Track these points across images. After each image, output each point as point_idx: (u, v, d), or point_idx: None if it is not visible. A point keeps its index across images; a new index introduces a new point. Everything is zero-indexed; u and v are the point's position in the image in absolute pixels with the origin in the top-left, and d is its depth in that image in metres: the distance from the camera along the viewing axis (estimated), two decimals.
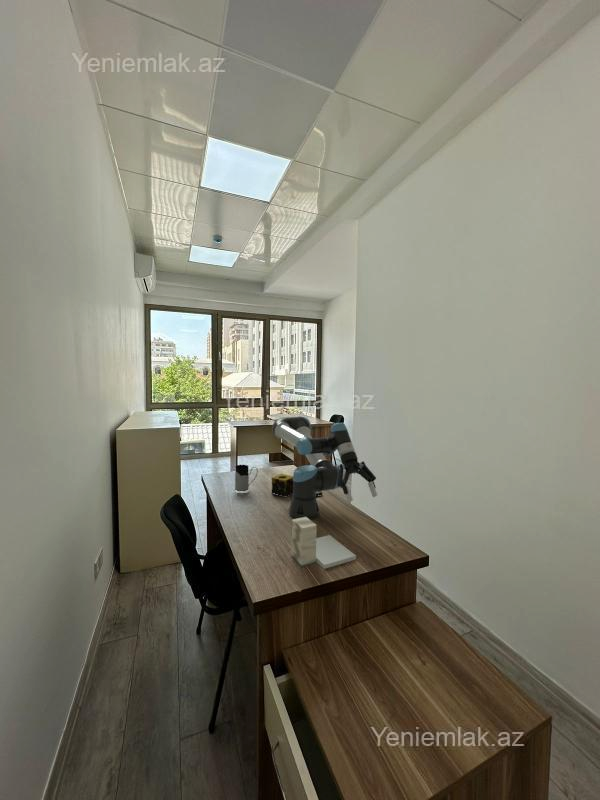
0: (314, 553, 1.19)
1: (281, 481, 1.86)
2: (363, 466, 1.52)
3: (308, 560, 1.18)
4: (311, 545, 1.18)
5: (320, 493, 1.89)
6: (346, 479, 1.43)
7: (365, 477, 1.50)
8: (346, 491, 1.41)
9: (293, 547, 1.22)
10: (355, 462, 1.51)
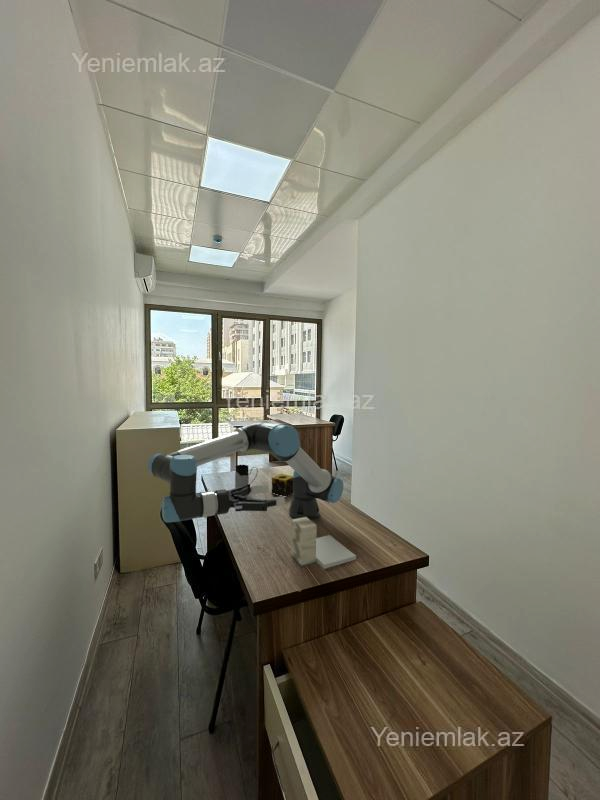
0: (314, 553, 1.19)
1: (281, 481, 1.86)
2: None
3: (308, 560, 1.18)
4: (312, 545, 1.18)
5: None
6: None
7: None
8: None
9: (293, 547, 1.22)
10: None
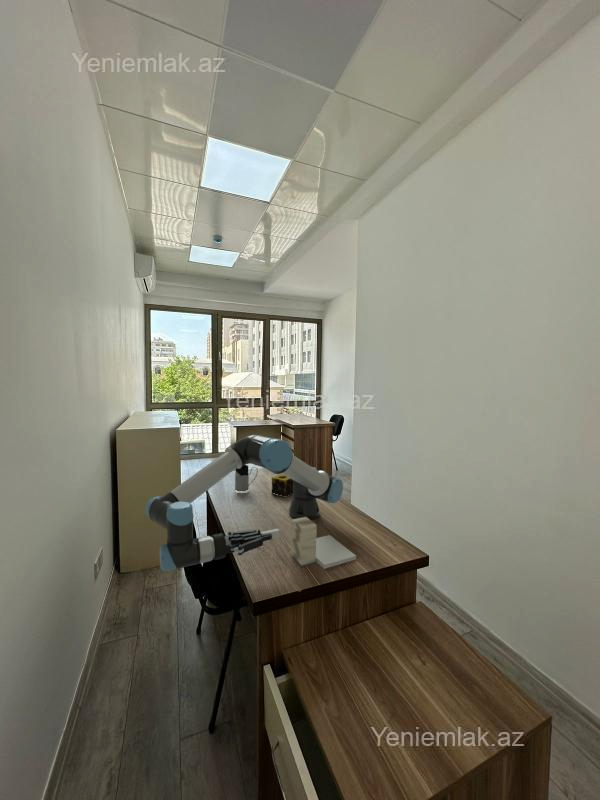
0: (314, 553, 1.19)
1: (281, 481, 1.86)
2: None
3: (308, 560, 1.18)
4: (312, 545, 1.18)
5: None
6: None
7: None
8: None
9: (293, 547, 1.22)
10: None
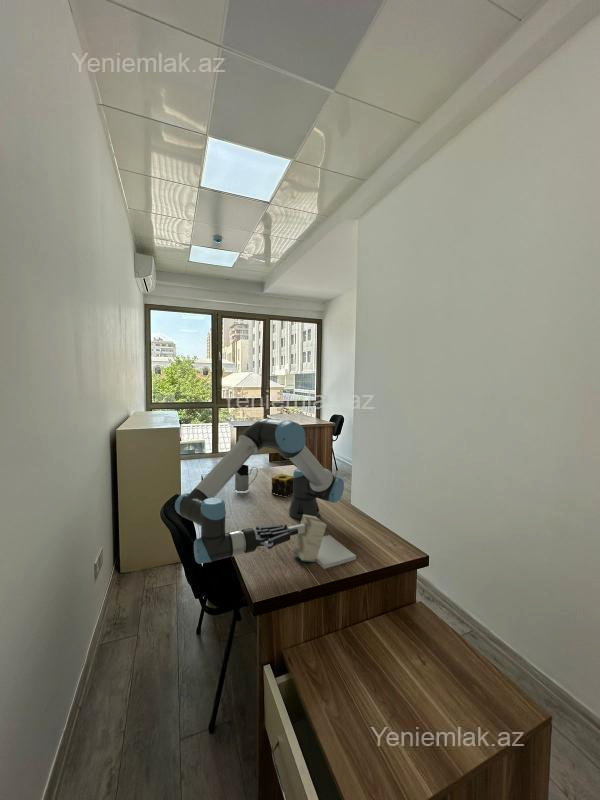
0: (316, 552, 1.20)
1: (281, 481, 1.86)
2: None
3: (309, 557, 1.18)
4: (317, 543, 1.19)
5: None
6: None
7: None
8: None
9: (297, 542, 1.23)
10: None
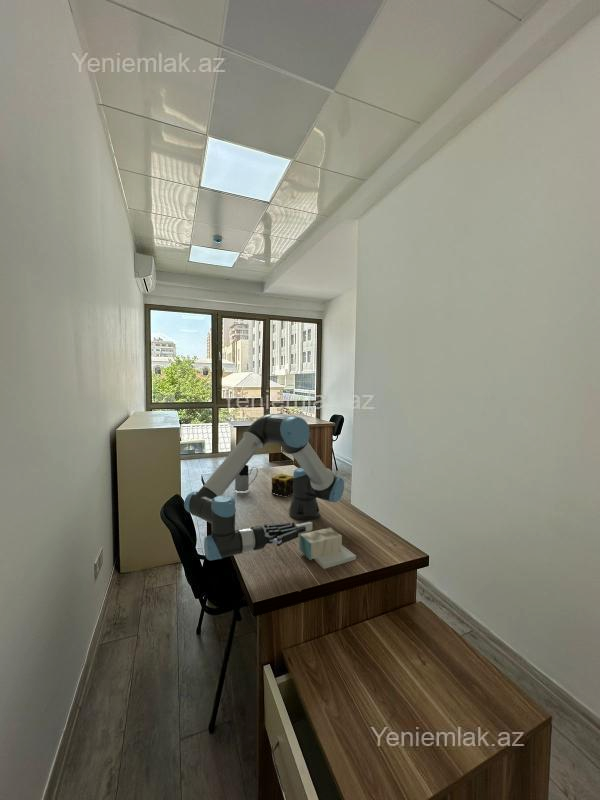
0: (317, 555, 1.20)
1: (281, 481, 1.86)
2: None
3: (313, 550, 1.19)
4: (325, 550, 1.22)
5: None
6: None
7: None
8: None
9: (310, 534, 1.26)
10: None
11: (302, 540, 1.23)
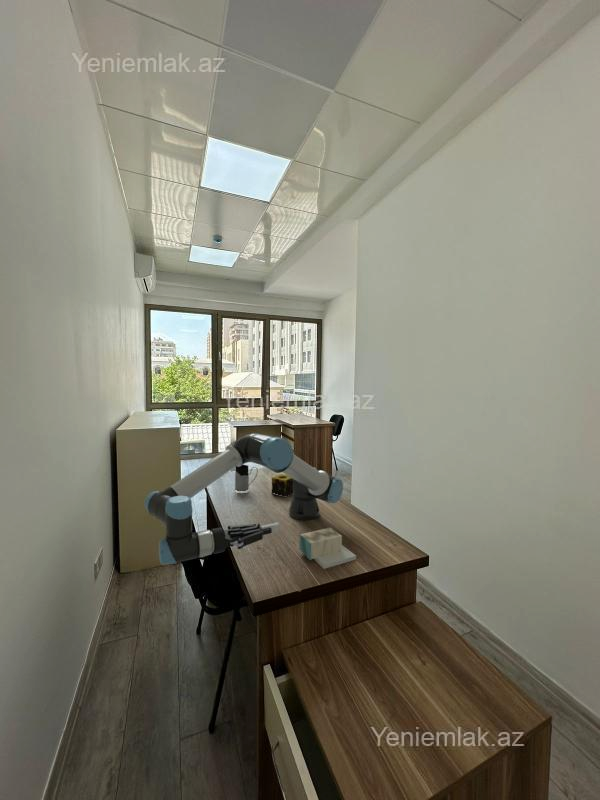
0: (317, 555, 1.20)
1: (281, 481, 1.86)
2: None
3: (313, 550, 1.19)
4: (325, 550, 1.22)
5: None
6: None
7: None
8: None
9: (310, 534, 1.26)
10: None
11: (302, 540, 1.23)
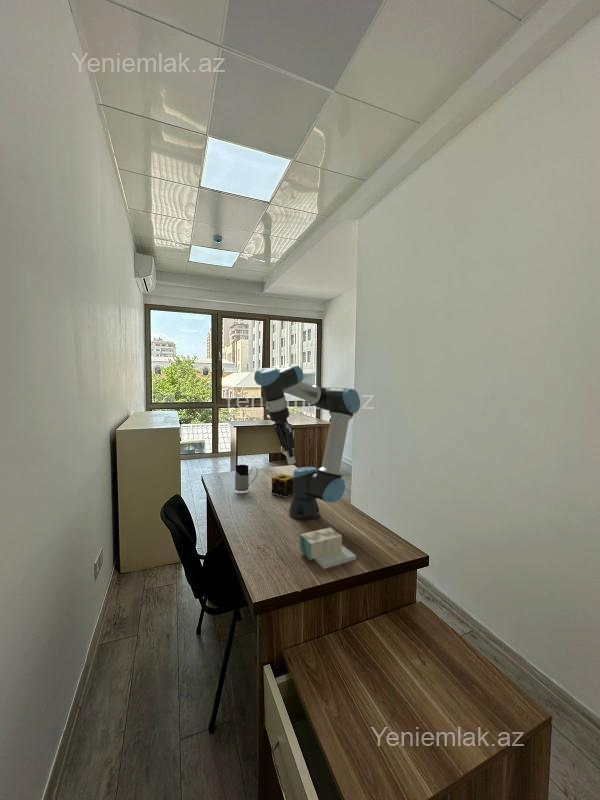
0: (317, 555, 1.20)
1: (281, 481, 1.86)
2: None
3: (313, 550, 1.19)
4: (325, 550, 1.22)
5: None
6: (282, 441, 1.30)
7: None
8: None
9: (310, 534, 1.26)
10: (281, 421, 1.24)
11: (302, 540, 1.23)
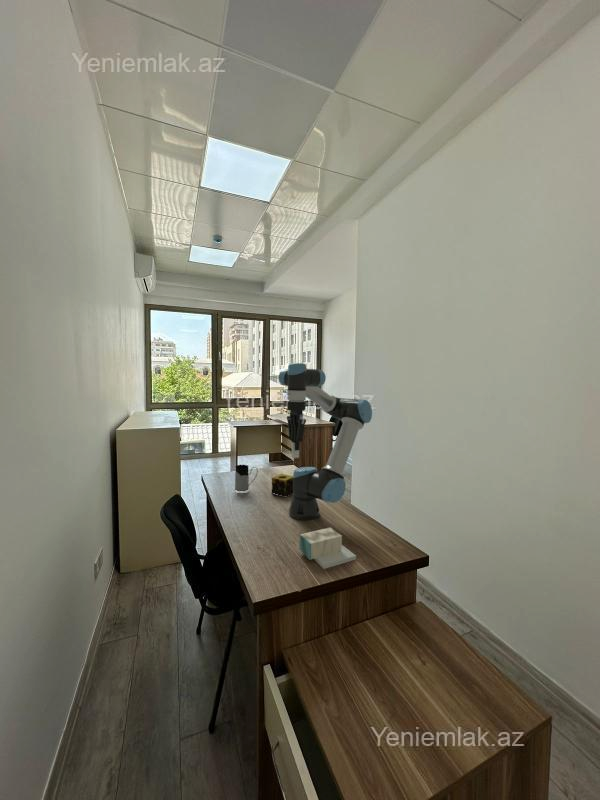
0: (317, 555, 1.20)
1: (281, 481, 1.86)
2: (299, 423, 1.31)
3: (313, 550, 1.19)
4: (325, 550, 1.22)
5: None
6: (291, 434, 1.36)
7: None
8: None
9: (310, 534, 1.26)
10: (296, 412, 1.32)
11: (302, 540, 1.23)
